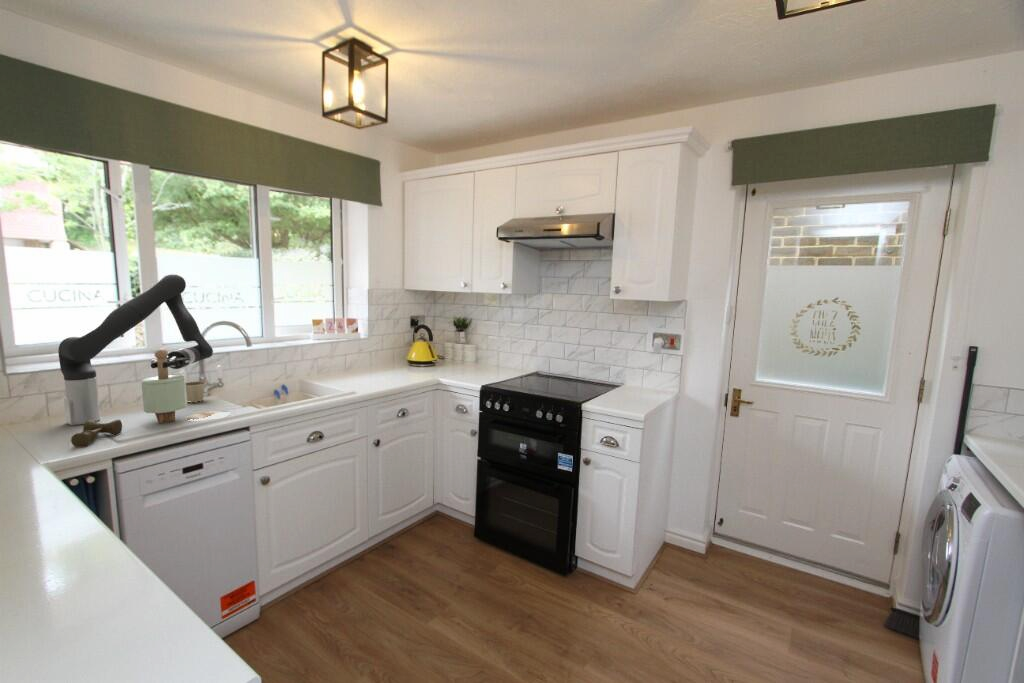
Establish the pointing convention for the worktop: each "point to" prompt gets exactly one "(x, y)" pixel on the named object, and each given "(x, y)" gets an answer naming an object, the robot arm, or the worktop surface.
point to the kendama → (95, 432)
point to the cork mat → (202, 415)
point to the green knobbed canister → (163, 389)
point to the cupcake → (165, 417)
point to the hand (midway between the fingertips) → (158, 365)
